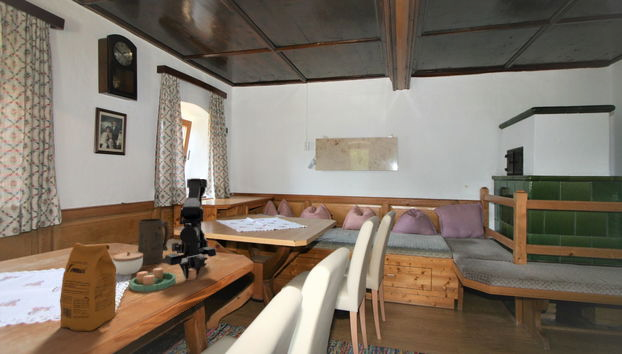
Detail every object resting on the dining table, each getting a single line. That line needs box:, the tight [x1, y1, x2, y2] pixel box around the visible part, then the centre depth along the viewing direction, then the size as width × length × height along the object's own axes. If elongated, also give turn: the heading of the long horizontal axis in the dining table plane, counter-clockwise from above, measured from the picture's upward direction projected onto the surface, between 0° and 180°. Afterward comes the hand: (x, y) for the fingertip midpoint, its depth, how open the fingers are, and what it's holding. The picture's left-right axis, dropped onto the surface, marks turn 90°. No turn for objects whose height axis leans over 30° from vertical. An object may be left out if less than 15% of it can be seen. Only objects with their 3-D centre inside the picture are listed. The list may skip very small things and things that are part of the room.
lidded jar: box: [112, 250, 144, 276], centre depth 125 cm, size 11×11×9 cm
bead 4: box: [186, 268, 197, 281], centre depth 119 cm, size 4×4×4 cm
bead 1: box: [136, 270, 149, 285], centre depth 112 cm, size 4×4×4 cm
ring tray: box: [129, 271, 177, 293], centre depth 113 cm, size 15×15×3 cm
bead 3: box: [152, 267, 164, 281], centre depth 117 cm, size 4×4×4 cm
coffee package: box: [59, 241, 117, 332], centre depth 85 cm, size 10×12×22 cm
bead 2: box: [143, 275, 155, 285], centre depth 109 cm, size 4×4×4 cm
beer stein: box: [137, 218, 170, 265], centre depth 146 cm, size 15×11×20 cm
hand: (191, 277), depth 119 cm, fingers closed on bead 4, 4 cm apart
